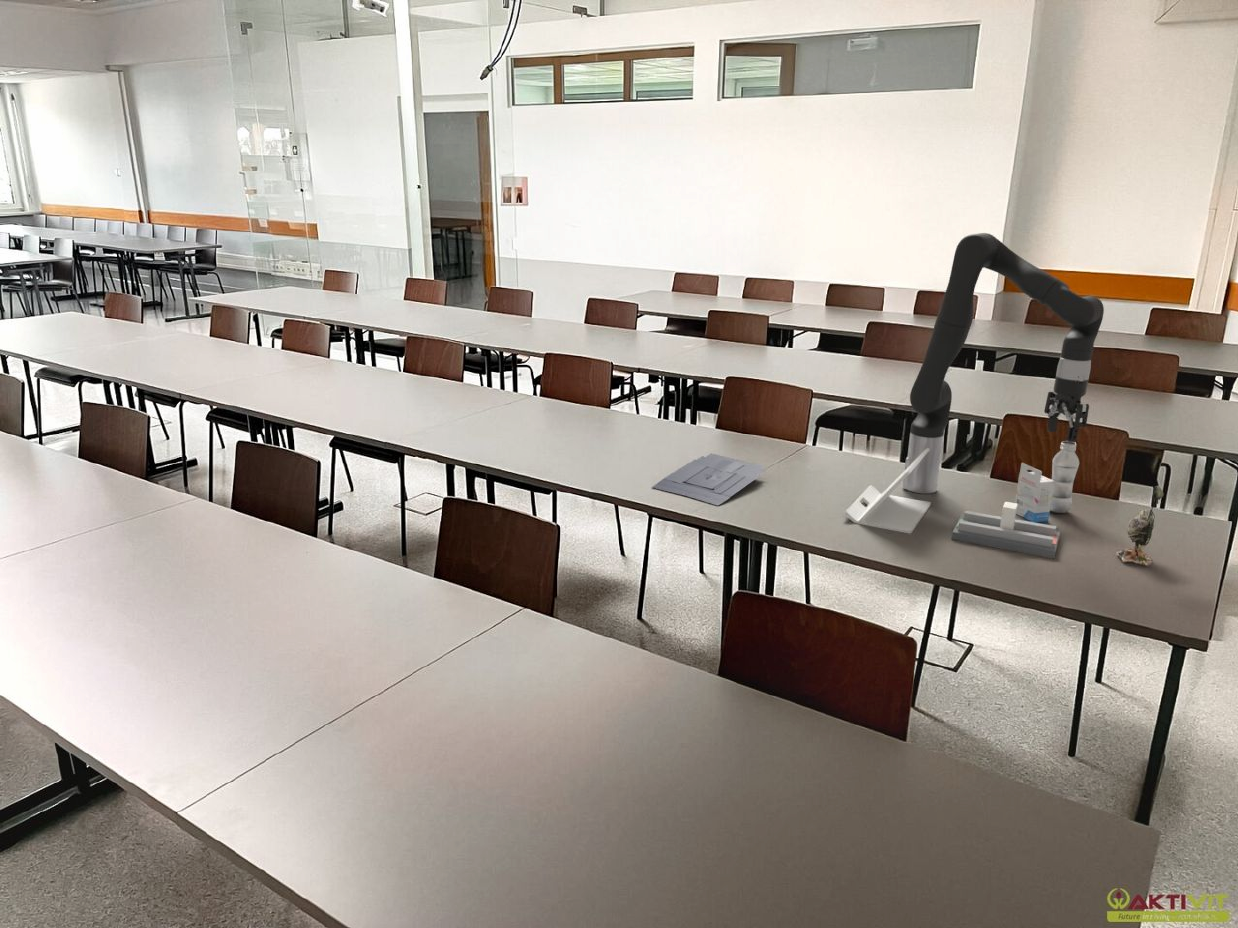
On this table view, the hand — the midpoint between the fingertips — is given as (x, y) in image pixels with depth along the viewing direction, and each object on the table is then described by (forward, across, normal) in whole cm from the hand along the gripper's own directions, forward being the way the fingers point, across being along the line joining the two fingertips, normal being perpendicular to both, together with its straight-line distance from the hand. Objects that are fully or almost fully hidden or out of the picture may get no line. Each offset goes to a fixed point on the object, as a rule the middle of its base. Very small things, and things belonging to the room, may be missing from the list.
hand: (1061, 436), depth 228 cm
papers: (+26, -41, -83) cm, 96 cm away
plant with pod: (+24, +25, +8) cm, 35 cm away
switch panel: (+24, +10, -17) cm, 31 cm away
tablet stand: (+25, -12, -39) cm, 48 cm away
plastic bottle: (+24, -7, +8) cm, 27 cm away
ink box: (+25, -4, -2) cm, 25 cm away
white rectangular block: (+22, +10, -17) cm, 30 cm away
